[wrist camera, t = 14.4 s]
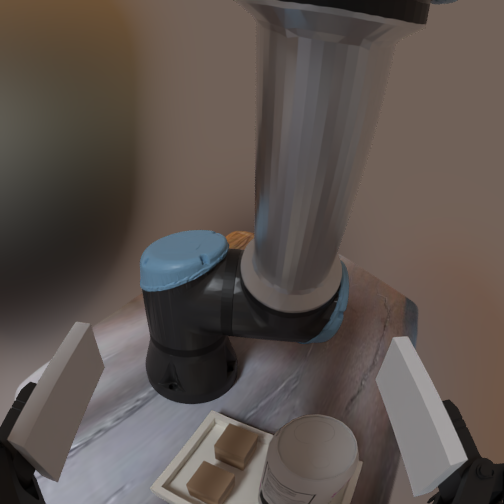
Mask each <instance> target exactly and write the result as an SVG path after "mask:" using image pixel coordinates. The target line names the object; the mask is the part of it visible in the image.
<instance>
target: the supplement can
mask: <svg viewBox="0 0 504 504" xmlns="http://www.w3.org/2000/svg"><path fill="white" fill-rule="evenodd" d="M358 462H359V453H358V446H357V440H356V438H355V436H354V434H353V432H352V430H351V429H350V428H348V427H347V426H346V425H345V424H344V423H343V422H342V421H339V420H337V419H335V418H333V417H331V416H326V415H320V414H312V415H304V416H301V417H298V418H296V419H293V420H292V421H291V422H289V423H287V424H286V425H284V426H283V427H282V428H281V429H279V430H278V431H277V432H276V433H275V434H274V436H273V438H272V439H271V441H270V443H269V446H268V451H267V455H266V460H265V465H264V469H263V474H262V478H261V483H260V487H259V493H258V502H259V504H329V503H330V502H331V501H332V499H333V498H334V497H335V496H336V495H337V494H338V492H339V491H340V490H341V489H342V488H343V486H344V485H345V484H346V483H347V482H348V480H349V479H350V478H351V477H352V475H353V474H354V473H355V470H356V467H357V465H358Z"/></svg>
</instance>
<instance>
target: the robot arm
mask: <svg viewBox="0 0 504 504" xmlns="http://www.w3.org/2000/svg"><path fill="white" fill-rule="evenodd" d="M234 1H235V2H236V3H238V4H239V5H240V6H241V7H242V8H244V9H245V10H246V11H247V12H248V13H250V14H251V15H252V17H253V18H254V20H255V21H256V128H255V131H256V132H255V229H254V239H253V240H251V241H250V243H249V244H248V245H247V247H246V248H245V250H239V249H229V244H228V242H227V240H226V238H225V237H224V236H223V235H222V234H220V233H215V232H214V231H209V230H191V231H184V232H179V233H175V234H171V235H168V236H166V237H163V238H161V239H159V240H157V241H155V242H154V243H152V244H151V245H150V246H148V247H147V248H146V250H145V251H144V252H143V254H142V256H141V260H140V274H141V280H140V286H141V288H142V292H143V298H144V304H145V310H146V316H147V322H148V327H149V332H150V343H149V347H148V352H147V357H146V371H147V375H148V379H149V382H150V384H151V385H152V387H153V388H154V389H155V390H156V391H157V392H158V393H159V394H160V395H162V396H163V397H165V398H167V399H169V400H172V401H175V402H179V403H185V404H198V403H204V402H208V401H211V400H214V399H216V398H218V397H220V396H221V395H223V394H224V393H225V392H227V391H228V390H229V389H230V387H231V386H232V385H233V383H234V381H235V379H236V375H237V358H236V354H235V352H234V349H233V347H232V345H231V343H230V340H229V338H228V336H236V337H245V338H255V339H265V340H277V341H289V342H298V343H300V344H309V343H322V342H325V341H328V340H329V339H331V338H332V337H333V336H334V335H335V334H336V332H337V331H338V329H339V327H340V326H341V323H342V321H343V312H344V311H345V310H346V307H347V302H348V296H349V277H348V271H347V268H346V266H345V264H344V263H343V262H342V261H341V260H340V258H339V256H338V254H337V252H338V249H339V246H340V243H341V240H342V237H343V235H344V232H345V229H346V226H347V223H348V220H349V217H350V214H351V211H352V208H353V205H354V201H355V198H356V195H357V192H358V189H359V186H360V183H361V179H362V176H363V173H364V169H365V166H366V162H367V159H368V155H369V152H370V149H371V145H372V141H373V138H374V134H375V130H376V127H377V123H378V119H379V115H380V111H381V107H382V103H383V99H384V95H385V91H386V86H387V83H388V78H389V74H390V69H391V65H392V60H393V55H394V50H395V46H396V44H397V43H398V42H399V41H400V40H402V39H404V38H406V37H408V36H410V35H412V34H414V33H416V32H418V31H420V30H423V29H424V28H425V26H426V21H427V17H428V11H429V6H430V3H432V4H448V3H453V2H455V1H457V0H234ZM104 368H105V367H104V364H103V361H102V358H101V355H100V352H99V349H98V346H97V343H96V340H95V337H94V333H93V330H92V327H91V324H89V323H82V322H76V323H75V324H74V326H73V327H72V329H71V330H70V332H69V333H68V335H67V336H66V338H65V339H64V341H63V343H62V344H61V346H60V347H59V349H58V350H57V352H56V353H55V355H54V357H53V358H52V360H51V361H50V363H49V365H48V366H47V368H46V370H45V371H44V373H43V375H42V376H41V378H40V380H39V381H38V383H37V384H36V383H33V382H29V383H28V384H27V385H26V386H25V387H24V388H22V389H21V391H20V393H19V394H18V396H17V398H16V401H14V403H13V405H12V408H11V409H10V410H9V412H8V414H7V416H6V418H5V419H4V421H3V423H2V425H1V427H0V504H46V503H45V501H44V498H43V496H42V493H41V491H40V488H39V485H38V482H37V480H36V478H35V476H34V472H35V469H36V470H37V471H38V472H39V473H40V474H41V475H42V476H44V477H46V478H48V479H51V480H53V481H56V482H58V481H59V478H60V475H61V472H62V469H63V467H64V464H65V461H66V458H67V456H68V453H69V450H70V448H71V445H72V443H73V440H74V438H75V435H76V433H77V430H78V428H79V425H80V423H81V420H82V418H83V416H84V413H85V411H86V408H87V406H88V404H89V401H90V399H91V397H92V395H93V392H94V390H95V388H96V386H97V383H98V381H99V379H100V377H101V374H102V372H103V370H104ZM375 380H376V382H377V385H378V388H379V391H380V393H381V396H382V399H383V402H384V404H385V407H386V410H387V413H388V416H389V419H390V422H391V425H392V428H393V431H394V434H395V437H396V440H397V443H398V446H399V449H400V452H401V455H402V459H403V462H404V465H405V468H406V472H407V475H408V478H409V481H410V485H411V489H412V492H413V496H414V497H417V496H420V495H423V494H427V493H430V492H431V491H432V490H434V489H435V488H436V487H437V486H438V488H439V492H438V493H437V494H435V495H434V496H433V497H431V498H430V499H429V501H428V502H427V503H430V502H432V501H433V500H434V502H433V504H504V463H503V464H493V462H492V461H491V460H489V459H487V458H482V457H481V456H480V454H479V452H478V450H477V448H476V446H475V443H474V441H473V439H472V437H471V435H470V432H469V430H468V428H467V427H466V424H465V422H464V420H463V419H462V416H461V414H460V412H459V409H458V408H457V407H456V406H455V405H454V404H453V403H452V402H451V401H450V400H445V401H441V399H440V397H439V395H438V393H437V391H436V389H435V387H434V385H433V383H432V381H431V379H430V377H429V375H428V373H427V371H426V369H425V367H424V366H423V364H422V362H421V360H420V358H419V356H418V354H417V353H416V351H415V349H414V347H413V345H412V343H411V341H410V340H409V338H408V336H407V337H393V339H392V342H391V344H390V347H389V349H388V352H387V354H386V356H385V359H384V361H383V363H382V366H381V368H380V370H379V373H378V375H377V377H376V379H375ZM502 500H503V503H502Z"/></svg>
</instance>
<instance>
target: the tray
mask: <svg viewBox="0 0 504 504" xmlns="http://www.w3.org/2000/svg"><path fill="white" fill-rule="evenodd" d="M229 423H231V424H233V425H236V426H238V427H240V428H243V429H245V430H248V431H250V432H253V433H255V434H258V442H257V449H256V450H255V452H254V454H253V456H252V457H251V459H250V461H249V462H248V464H247V466H246V467H245V469H244V471H242V470H239V469H237V468H235V467H232V466H230V465H228V464H226V463H223V462H221V461H219V460H217V459H215V451H214V445H215V443H216V442H217V440H218V439H219V437H220V436H221V435H222V433H223V432H224V430H225V429H226V427H227V426H228V424H229ZM273 436H274V435H272V434H269V433H266V432H264V431H261V430H258V429H256V428H253V427H251V426H248V425H246V424H243V423H241V422H238V421H236V420H233V419H231V418H229V417H226V416H224V415H222V414H219V413H217V412H215V411H213V410H211V412H210V413H209V414H208V416H207V417H206V418H205V420H204V421H203V422H202V424H201V425H200V426H199V427H198V429H197V430H196V431H195V433H194V434H193V435H192V437H191V438H190V439H189V440H188V442H187V443H186V444H185V445H184V447H183V448H182V449H181V450H180V452H179V453H178V454H177V455H176V457H175V458H174V459H173V460H172V462H171V463H170V464H169V465H168V467H167V468H166V469H165V470H164V471H163V473H162V474H161V475H160V476H159V478H158V479H157V480H156V481H155V482H154V484H153V485H152V486H151V487H150V489H151V491H152V492H153V494H155V495H156V496H158V497H160V498H161V499H163V500H165V501H167V502H168V503H170V504H206V503H204V502H202V501H200V500H198V499H196V498H194V497H192V496H190V494H189V492H188V489H187V486H186V484H187V483H188V481H189V480H190V479H191V477H192V476H193V475H194V473H195V472H196V471H197V469H198V468H199V467H200V465H201V464H202V462H203V461H206V462H208V463H210V464H212V465H215V466H217V467H219V468H221V469H223V470H226V471H228V472H230V473H232V474H235V486H234V488H233V489H232V491H231V492H230V494H229V496H228V497H227V499H226V500H225V502H224V503H223V504H259V502H258V493H259V487H260V483H261V478H262V474H263V469H264V465H265V460H266V455H267V451H268V446H269V443H270V441H271V439H272V438H273ZM362 464H363V461H359V462H358V465H357V467H356V470H355V473H354V474H353V475H352V477H351V478H350V479H349V480H348V482H347V483H346V484H345V485H344V486H343V488H342V489H341V490H340V491H339V492H338V494H337V495H336V496H335V497H334V498H333V499H332V501H331V502H330V503H329V504H350V502H351V499H352V497H353V494H354V490H355V487H356V484H357V481H358V478H359V474H360V471H361V468H362Z"/></svg>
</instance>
